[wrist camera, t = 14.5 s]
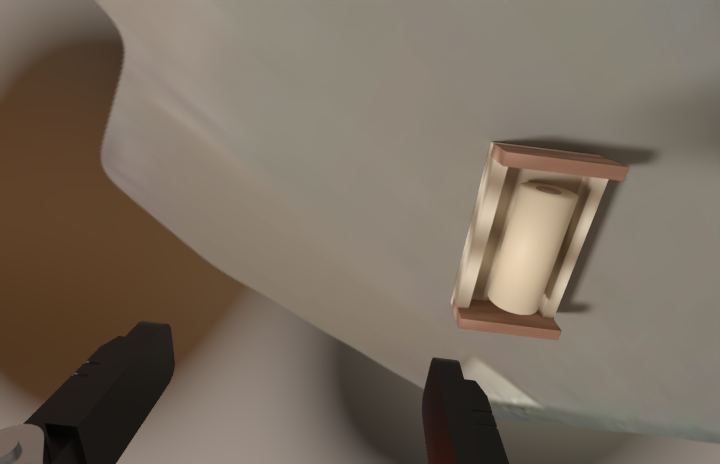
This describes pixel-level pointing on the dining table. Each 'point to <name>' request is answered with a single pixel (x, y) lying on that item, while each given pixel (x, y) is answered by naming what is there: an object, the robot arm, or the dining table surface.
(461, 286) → the roll holder
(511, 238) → the paper roll
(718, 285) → the dining table surface
